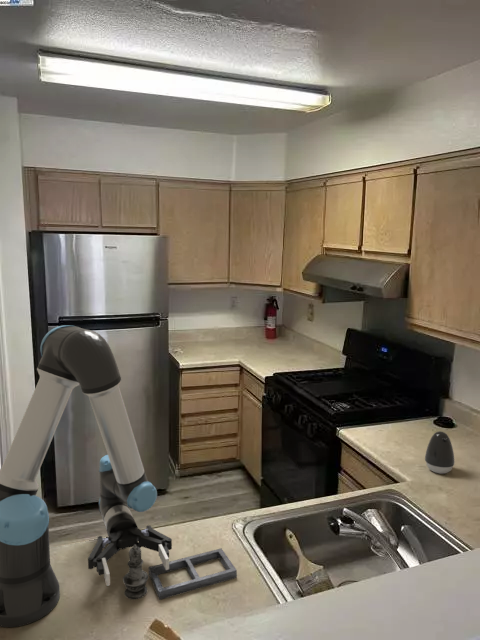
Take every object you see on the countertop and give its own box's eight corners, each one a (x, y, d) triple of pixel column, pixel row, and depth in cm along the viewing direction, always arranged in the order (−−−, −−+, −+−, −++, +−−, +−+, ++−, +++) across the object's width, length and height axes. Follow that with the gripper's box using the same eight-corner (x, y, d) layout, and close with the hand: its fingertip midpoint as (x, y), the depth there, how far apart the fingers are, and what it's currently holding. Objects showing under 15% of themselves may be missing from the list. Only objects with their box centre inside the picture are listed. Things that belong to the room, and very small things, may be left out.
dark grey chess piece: (150, 583, 117) (149, 536, 115) (146, 600, 111) (145, 551, 109) (125, 583, 117) (124, 537, 115) (120, 600, 111) (119, 551, 109)
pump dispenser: (431, 477, 175) (433, 436, 173) (420, 465, 186) (421, 427, 184) (459, 476, 176) (461, 436, 174) (446, 464, 186) (448, 426, 184)
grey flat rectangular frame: (159, 600, 111) (159, 591, 111) (148, 574, 120) (148, 567, 120) (236, 577, 119) (236, 570, 119) (221, 555, 128) (221, 548, 128)
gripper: (166, 528, 135) (190, 573, 116) (72, 550, 125) (82, 602, 105) (165, 503, 134) (190, 543, 115) (71, 522, 124) (80, 570, 104)
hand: (138, 572), depth 110 cm, fingers open, 13 cm apart
